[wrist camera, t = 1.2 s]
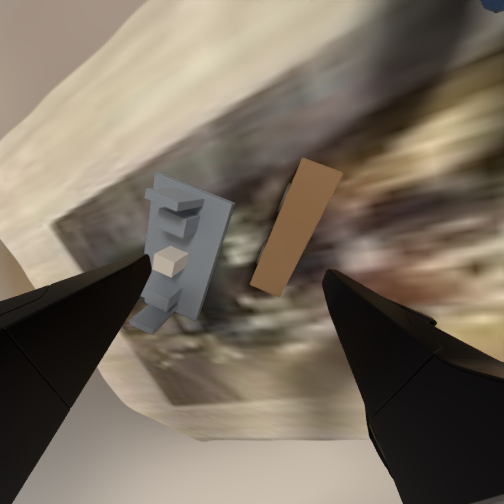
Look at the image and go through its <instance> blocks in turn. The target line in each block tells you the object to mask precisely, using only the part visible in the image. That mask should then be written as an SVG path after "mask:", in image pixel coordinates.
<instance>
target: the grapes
mask: <svg viewBox="0 0 504 504" xmlns="http://www.w3.org/2000/svg"><path fill="white" fill-rule="evenodd" d="M480 1H481V3H482V5H483V6H484V8H485V9H487V10H489V11H492V12H495V13H498V12H502V11H504V0H480Z"/></svg>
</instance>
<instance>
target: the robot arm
mask: <svg viewBox="0 0 504 504" xmlns="http://www.w3.org/2000/svg"><path fill="white" fill-rule="evenodd" d="M151 272H152V266H151V261H150V256H149V255H148V254H142V253H139V254H136V255H133V256H130V257H127V258H125V259H122V260H119V261H116V262H113V263H110V264H107V265H105V266H102V267H99V268H96V269H93V270H90V271H87V272H85V273H82V274H79V275H76V276H73V277H70V278H67V279H65V280H62V281H59V282H56V283H53V284H51V285H50V286H49V285H47V286H45V287H42V288H39V289H36V290H33V291H30V292H27V293H24V294H21V295H19V296H15V297H12V298H9V299H6V300H3V301H0V504H12V503H13V501H14V500H15V498H16V496H17V495H18V493H19V491H20V490H21V488H22V487H23V485H24V483H25V482H26V480H27V478H28V477H29V475H30V474H31V472H32V471H33V469H34V467H35V466H36V464H37V463H38V461H39V459H40V457H41V456H42V454H43V453H44V451H45V450H46V448H47V446H48V445H49V443H50V442H51V440H52V438H53V437H54V435H55V434H56V432H57V430H58V429H59V427H60V426H61V424H62V422H63V421H64V419H65V417H66V416H67V414H68V412H69V411H70V408H71V407H72V406H73V404H74V403H75V401H76V399H77V398H78V396H79V394H80V393H81V391H82V390H83V388H84V387H85V385H86V383H87V382H88V380H89V379H90V377H91V375H92V374H93V372H94V370H95V369H96V367H97V366H98V364H99V362H100V361H101V359H102V358H103V356H104V354H105V353H106V351H107V350H108V348H109V346H110V345H111V343H112V341H113V340H114V338H115V337H116V335H117V333H118V332H119V330H120V329H121V327H122V325H123V324H124V322H125V321H126V319H127V317H128V316H129V314H130V313H131V311H132V309H133V308H134V306H135V304H136V303H137V301H138V299H139V298H140V296H141V294H142V292H143V289H144V287H145V285H146V283H147V281H148V279H149V277H150V275H151ZM322 287H323V291H324V295H325V299H326V302H327V306H328V310H329V313H330V316H331V318H332V321H333V323H334V326H335V329H336V331H337V334H338V336H339V339H340V342H341V344H342V347H343V349H344V352H345V355H346V357H347V360H348V362H349V365H350V368H351V370H352V373H353V375H354V378H355V380H356V383H357V386H358V388H359V391H360V393H361V396H362V399H363V401H364V404H365V412H366V421H367V427H368V432H369V437H370V439H371V441H372V443H373V445H374V447H375V449H376V451H377V453H378V455H379V457H380V458H381V460H382V462H383V463H384V465H385V467H386V468H387V469H388V472H389V474H390V475H391V477H392V478H393V480H394V482H395V485H396V487H397V490H398V492H399V495H400V498H401V500H402V503H403V504H504V362H501V361H499V360H497V359H495V358H493V357H491V356H489V355H487V354H485V353H483V352H481V351H480V350H478V349H476V348H474V347H472V346H470V345H468V344H466V343H464V342H463V341H461V340H459V339H457V338H455V337H453V336H451V335H449V334H447V333H446V332H444V331H442V330H440V329H438V328H436V327H435V326H436V324H437V322H436V321H435V320H434V319H433V318H431V317H429V316H427V315H424V314H422V313H420V312H417V311H415V310H413V309H410V308H408V307H405V306H403V305H401V304H398V303H396V302H394V301H391V300H389V299H387V298H384V297H382V296H380V295H379V294H377V293H375V292H374V291H372V290H370V289H368V288H367V287H365V286H363V285H362V284H360V283H358V282H356V281H355V280H353V279H351V278H350V277H348V276H346V275H344V274H343V273H341V272H339V271H337V270H335V269H328V270H327V271H326V273H325V276H324V279H323V281H322ZM429 322H430V323H429Z"/></svg>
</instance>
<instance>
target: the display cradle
mask: <svg viewBox="0 0 504 504" xmlns="http://www.w3.org/2000/svg"><path fill="white" fill-rule="evenodd" d="M145 198H146V199H148V200H150V201H151V208H150V215H149V222H148V230H147V237H146V244H145V252H144V254H148V255H149V256H150V261H151V266H152V272H151V275H150V277H149V279H148V281H147V283H146V285H145V287H144V289H143V292H142V294H141V296H142V297H144V298H145V302H146V303H148V305H147V306H146V307H145V308H143V309H142V310H141V311H140V312H139V313H137V314H136V315H135V316H134V317H132V318H131V319H130V325H132V326H134V327H136V328H139V329H141V330H143V331H145V332H147V333H149V334H151V335H153V334H154V333H155V332H156V331H157V330H158V329H159V328H160V327H161V326H162V325H163V324H164V323H165V321H166V320H167V319H168V318H169V317H170V316H171V315H172V314H173V313H174V312H177V313H179V314H181V315H183V316H185V317H187V318H190V319H192V320H194V321H196V320H197V318H198V317H199V316H200V313H201V309H202V306H203V303H204V300H205V297H206V294H207V291H208V288H209V284H210V281H211V278H212V275H213V272H214V269H215V266H216V263H217V259H218V256H219V253H220V250H221V247H222V244H223V241H224V238H225V234H226V231H227V228H228V225H229V222H230V219H231V216H232V213H233V209H234V206H235V203H234V202H231V201H229V200H226V199H224V198H222V197H219V196H217V195H214V194H212V193H209V192H207V191H205V190H202V189H200V188H197V187H195V186H192V185H190V184H188V183H185V182H183V181H180V180H178V179H176V178H173V177H171V176H168V175H166V174H163V173H156V172H155V178H154V185H153V189H146V192H145Z"/></svg>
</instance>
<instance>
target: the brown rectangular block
mask: <svg viewBox="0 0 504 504" xmlns="http://www.w3.org/2000/svg"><path fill="white" fill-rule="evenodd" d="M342 175H343V173H342V172H340V171H337V170H334V169H332V168H329V167H326V166H324V165H321V164H319V163H316V162H313V161H311V160H308V159H305V158H303V157H302V160H301V162H300V164H299V167H298V169H297V172H296V174H295V177H294V179H293V181H292V184H291V183H289V184H288V186H287V188H286V191H285V193H284V196H283V198H282V200H281V203H280V205H279V208H278V211H277V212H280V213H279V215H278V217H277V220H276V222H275V225H274V227H273V229H272V232H271V234H270V237H269V239H268V240H265V243H264V245H263V247H262V250H261V252H260V254H259V257H258V259H257V262H256V264H258V266H257V268H256V270H255V273H254V275H253V278H252V280H251V282H250V285H252V286H254V287H256V288H259V289H261V290H263V291H266V292H268V293H270V294H273V295H275V296H277V297H280V296H281V294H282V292H283V290H284V288H285V286H286V284H287V282H288V280H289V278H290V276H291V274H292V272H293V270H294V269H295V267H296V265H297V263H298V261H299V259H300V257H301V255H302V253H303V251H304V249H305V247H306V245H307V243H308V241H309V239H310V237H311V235H312V233H313V231H314V230H315V228H316V226H317V224H318V222H319V220H320V218H321V216H322V214H323V212H324V210H325V208H326V206H327V204H328V202H329V200H330V198H331V196H332V194H333V192H334V190H335V189H336V187H337V185H338V183H339V181H340V179H341V177H342Z"/></svg>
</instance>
